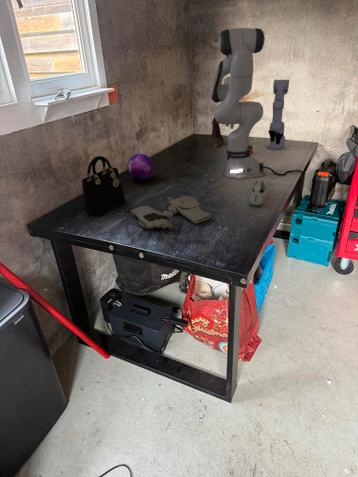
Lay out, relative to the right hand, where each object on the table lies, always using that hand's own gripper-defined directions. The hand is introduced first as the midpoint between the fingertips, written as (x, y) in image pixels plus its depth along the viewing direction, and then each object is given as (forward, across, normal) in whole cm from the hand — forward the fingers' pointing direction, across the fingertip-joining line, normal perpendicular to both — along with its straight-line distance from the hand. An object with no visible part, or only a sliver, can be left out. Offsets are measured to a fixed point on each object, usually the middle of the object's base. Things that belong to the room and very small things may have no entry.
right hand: (274, 142), depth 213 cm
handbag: (+8, +49, -110) cm, 121 cm away
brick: (+8, -14, -12) cm, 21 cm away
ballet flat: (+8, +61, -37) cm, 72 cm away
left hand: (-10, -14, -26) cm, 31 cm away
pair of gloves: (+8, +69, -83) cm, 108 cm away
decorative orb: (+8, +16, -90) cm, 91 cm away
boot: (+8, -44, -25) cm, 51 cm away
